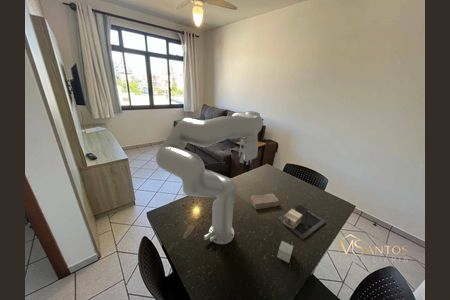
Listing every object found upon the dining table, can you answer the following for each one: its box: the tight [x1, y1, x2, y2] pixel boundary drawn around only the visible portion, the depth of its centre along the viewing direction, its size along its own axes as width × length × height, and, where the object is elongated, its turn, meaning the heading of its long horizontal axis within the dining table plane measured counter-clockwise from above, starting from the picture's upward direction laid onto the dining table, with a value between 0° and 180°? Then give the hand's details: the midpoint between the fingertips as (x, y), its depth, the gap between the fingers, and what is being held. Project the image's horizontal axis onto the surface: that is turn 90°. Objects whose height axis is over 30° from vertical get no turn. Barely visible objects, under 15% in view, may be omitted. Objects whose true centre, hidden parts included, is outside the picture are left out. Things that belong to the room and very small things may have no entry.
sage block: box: [276, 240, 294, 264], centre depth 77 cm, size 5×5×5 cm
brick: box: [249, 193, 280, 210], centre depth 109 cm, size 16×8×5 cm, turn 105°
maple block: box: [282, 208, 302, 229], centre depth 93 cm, size 5×6×8 cm
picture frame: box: [277, 204, 327, 240], centre depth 97 cm, size 16×2×21 cm
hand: (246, 170), depth 93 cm, fingers closed
